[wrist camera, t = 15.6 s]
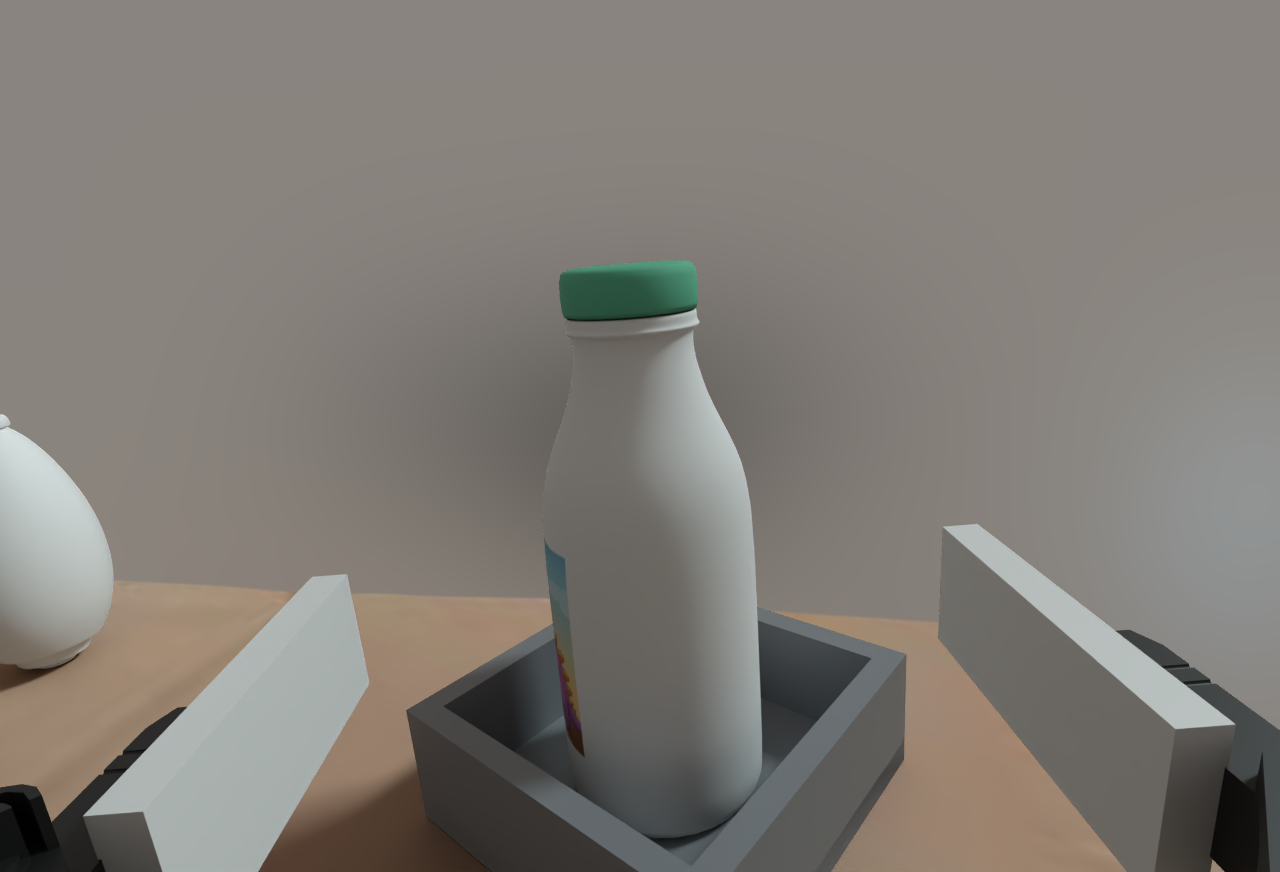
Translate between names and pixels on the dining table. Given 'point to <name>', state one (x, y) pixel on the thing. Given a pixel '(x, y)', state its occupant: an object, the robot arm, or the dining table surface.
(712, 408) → the milk bottle
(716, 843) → the box
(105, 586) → the white squeeze bottle
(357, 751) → the dining table surface
